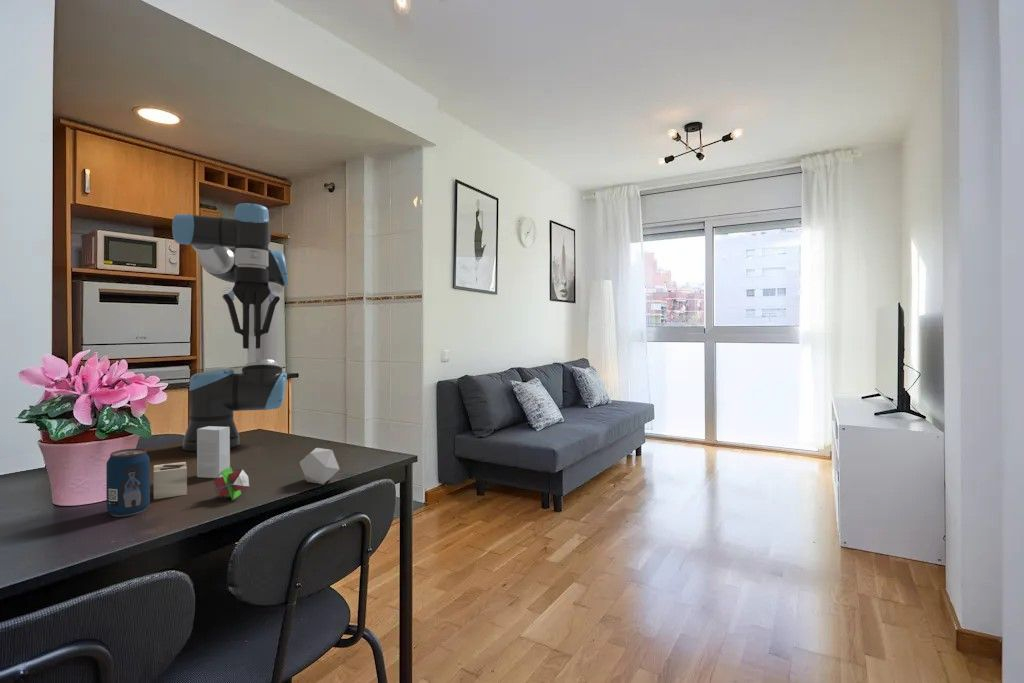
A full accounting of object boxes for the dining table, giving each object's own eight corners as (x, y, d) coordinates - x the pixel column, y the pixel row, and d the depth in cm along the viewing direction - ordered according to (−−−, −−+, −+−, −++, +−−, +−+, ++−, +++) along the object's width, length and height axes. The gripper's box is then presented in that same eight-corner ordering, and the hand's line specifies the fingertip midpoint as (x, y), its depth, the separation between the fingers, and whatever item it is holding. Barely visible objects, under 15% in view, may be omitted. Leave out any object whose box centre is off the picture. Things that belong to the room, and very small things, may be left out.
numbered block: (154, 492, 114) (153, 464, 114) (185, 487, 117) (185, 460, 117) (153, 499, 109) (153, 471, 109) (186, 495, 112) (186, 467, 112)
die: (346, 482, 125) (338, 446, 130) (332, 473, 118) (325, 436, 122) (314, 494, 125) (307, 458, 129) (298, 487, 117) (292, 448, 122)
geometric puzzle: (198, 492, 108) (221, 463, 108) (215, 482, 114) (237, 455, 114) (225, 512, 108) (248, 483, 108) (241, 501, 115) (262, 474, 115)
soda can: (129, 504, 106) (129, 446, 106) (158, 506, 105) (158, 448, 104) (97, 516, 99) (96, 455, 99) (127, 519, 98) (127, 457, 98)
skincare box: (230, 473, 128) (230, 426, 128) (219, 478, 124) (219, 430, 124) (208, 472, 129) (208, 425, 129) (195, 477, 125) (196, 428, 124)
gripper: (223, 263, 120) (223, 363, 121) (282, 268, 128) (282, 362, 128) (220, 266, 127) (220, 361, 127) (277, 270, 134) (276, 360, 135)
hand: (251, 361), depth 128 cm, fingers closed
